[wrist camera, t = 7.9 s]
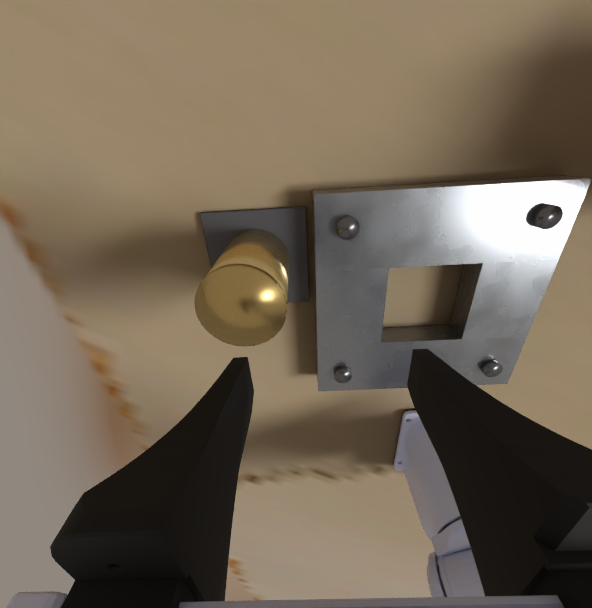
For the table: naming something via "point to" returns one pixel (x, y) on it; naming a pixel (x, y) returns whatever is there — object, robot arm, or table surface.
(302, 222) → the mat
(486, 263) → the housing
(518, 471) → the robot arm
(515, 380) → the table surface
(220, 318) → the brass cylinder
